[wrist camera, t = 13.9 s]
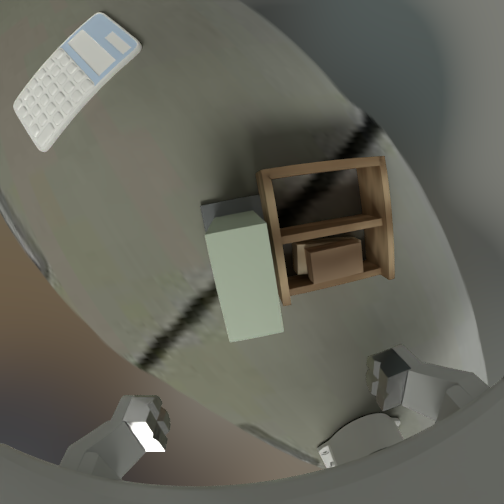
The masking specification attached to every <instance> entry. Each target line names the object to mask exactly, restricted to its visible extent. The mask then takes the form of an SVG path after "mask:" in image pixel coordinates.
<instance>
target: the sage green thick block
mask: <svg viewBox="0 0 504 504" xmlns="http://www.w3.org/2000/svg"><path fill="white" fill-rule="evenodd" d="M205 239H206V244H207V249H208V253H209V258H210V262H211V267H212V271H213V275H214V280H215V284H216V288H217V292H218V297H219V301H220V305H221V309H222V313H223V317H224V321H225V325H226V329H227V333H228V337H229V340H230V342H235V341H240V340H246V339H251V338H256V337H262V336H267V335H271V334H276V333H281V332H284V328H283V322H282V315H281V309H280V303H279V296H278V290H277V284H276V277H275V271H274V265H273V259H272V253H271V247H270V241H269V235H268V229H267V224H266V222H265V221H264V220H263V219H262V218H261V217H259V216H258V215H257V214H256V213H255V212H254V211H253V210H252V211H247V212H241V213H236V214H231V215H226V216H221V217H216V218H214V219H213V221H212V223H211V224H210V226H209V228H208V230H207V231H206V233H205Z"/></svg>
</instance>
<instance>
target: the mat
mask: <svg viewBox="0 0 504 504" xmlns="http://www.w3.org/2000/svg"><path fill="white" fill-rule="evenodd" d="M200 207H201V212H202V217H203V222H204V227H205V232H206V231H207V230H208V228H209V226H210V224H211V223H212V221H213V219H214V218H216V217H221V216H226V215H231V214H236V213H241V212H247V211H252V210H253V211H254V212H255V213H256V214H257V215H258V216H259V217H261V218H262V219H263V220H264V217H263V211H262V205H261V200H260V195H254V196H248V197H243V198H237V199H232V200H227V201H222V202H217V203H212V204H207V205H202V206H200Z"/></svg>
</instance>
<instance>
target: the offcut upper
mask: <svg viewBox="0 0 504 504" xmlns="http://www.w3.org/2000/svg"><path fill="white" fill-rule="evenodd" d="M304 251H305V258H306V265H307V273H308V278H309V279H310V280H311V281H312V282H313V283H314V284H318V283H322V282H326V281H330V280H334V279H339V278H343V277H347V276H350V275H354V274H358V273H362V272H363V259H362V247H361V242H359V241H357V240H355V239H352V238H351V239H346V240H341V241H337V242H332V243H327V244H322V245H318V246H313V247H308V248H304Z"/></svg>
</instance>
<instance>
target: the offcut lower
mask: <svg viewBox="0 0 504 504" xmlns="http://www.w3.org/2000/svg"><path fill="white" fill-rule="evenodd" d="M351 238H352V239H355V240H357V241H359V242H361V240H360V239H357V238H355V237H353V236H347V237H333V238H319V239H309V240H303V241H298V242H293V243H292V257H293V269H294V270H295V272H296V273H297V274H298V275H302V274H308V273H307V265H306V258H305V251H304V248H308V247H313V246H318V245H322V244H327V243H332V242H337V241H341V240H346V239H351Z"/></svg>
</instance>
